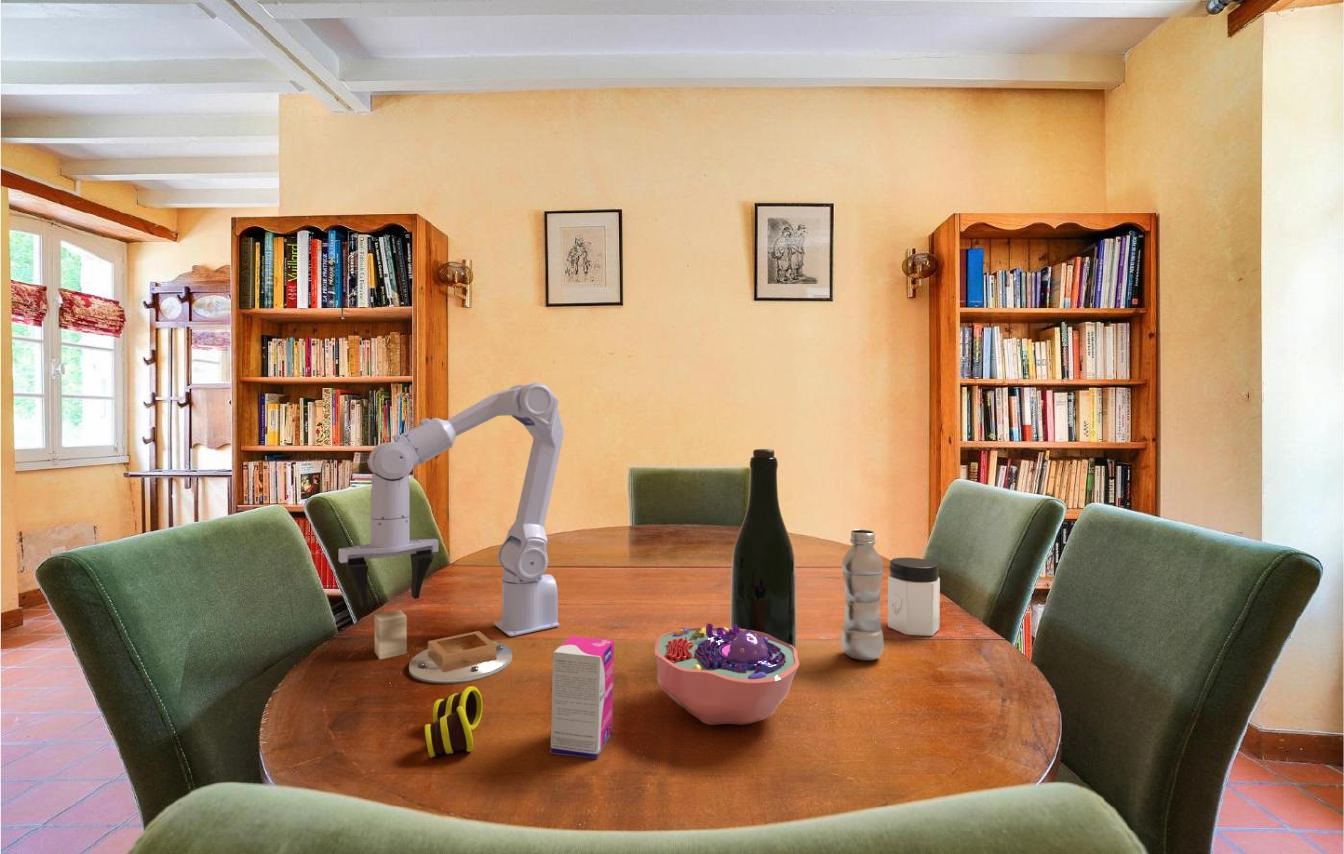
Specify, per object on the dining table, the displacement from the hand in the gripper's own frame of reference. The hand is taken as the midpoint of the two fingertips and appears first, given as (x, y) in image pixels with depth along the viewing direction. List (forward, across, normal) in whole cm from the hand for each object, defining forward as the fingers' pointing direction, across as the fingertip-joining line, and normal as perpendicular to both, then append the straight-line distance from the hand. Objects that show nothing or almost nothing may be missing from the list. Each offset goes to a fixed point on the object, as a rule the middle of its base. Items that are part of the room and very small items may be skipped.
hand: (390, 601), depth 98 cm
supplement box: (+8, -12, +43) cm, 45 cm away
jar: (+8, -79, +43) cm, 90 cm away
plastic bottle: (+8, -60, +46) cm, 76 cm away
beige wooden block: (+8, 0, 0) cm, 8 cm away
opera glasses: (+9, 0, +33) cm, 34 cm away
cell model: (+8, -30, +47) cm, 56 cm away
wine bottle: (+8, -48, +36) cm, 61 cm away
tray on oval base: (+8, -8, +11) cm, 16 cm away
